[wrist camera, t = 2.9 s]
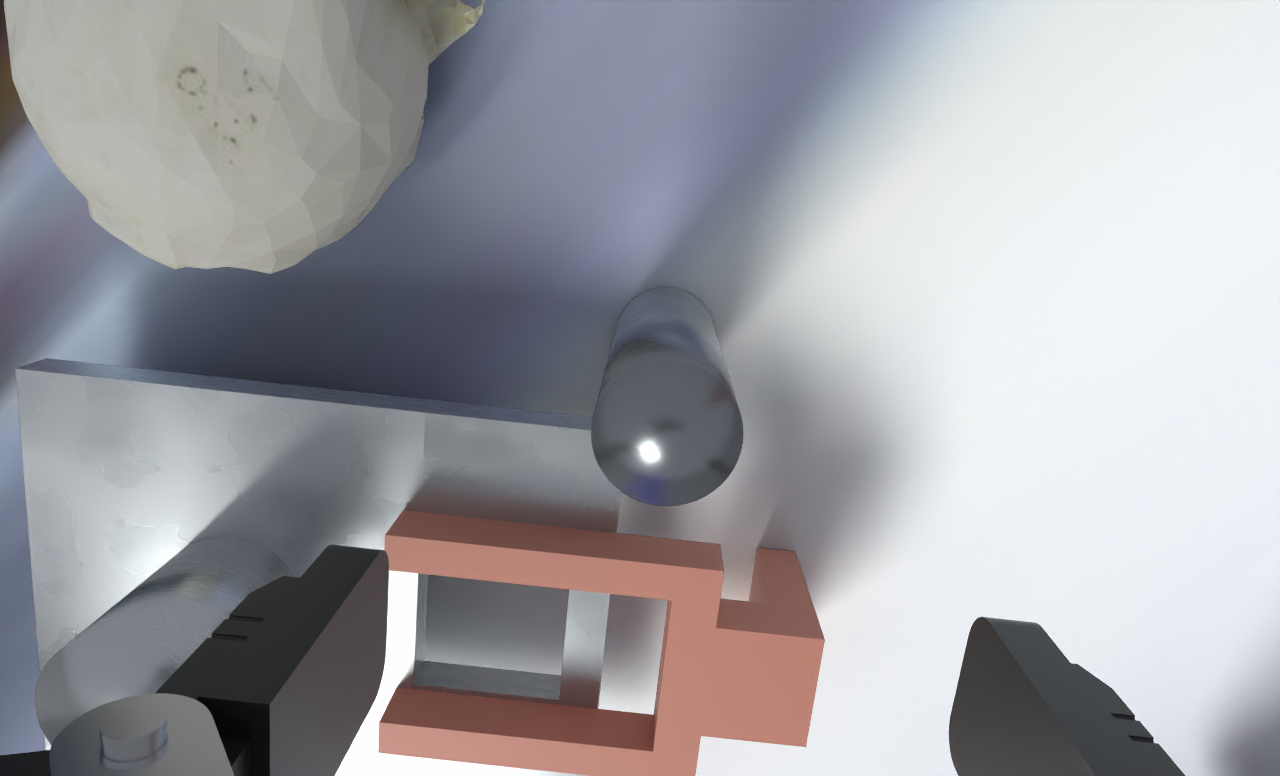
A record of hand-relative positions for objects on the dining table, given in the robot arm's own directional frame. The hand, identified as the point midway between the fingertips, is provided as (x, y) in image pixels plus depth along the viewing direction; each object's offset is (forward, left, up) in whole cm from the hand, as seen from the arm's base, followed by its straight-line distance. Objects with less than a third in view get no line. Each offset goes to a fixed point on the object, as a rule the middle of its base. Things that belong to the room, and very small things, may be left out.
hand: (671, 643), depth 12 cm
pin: (0, 0, -21) cm, 21 cm away
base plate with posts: (-11, -10, -21) cm, 26 cm away
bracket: (-1, -10, -21) cm, 23 cm away
